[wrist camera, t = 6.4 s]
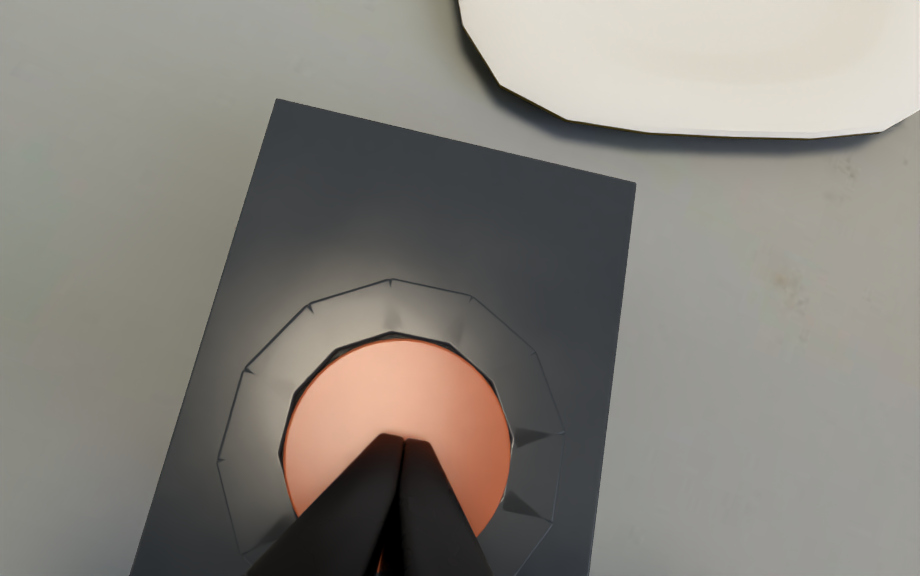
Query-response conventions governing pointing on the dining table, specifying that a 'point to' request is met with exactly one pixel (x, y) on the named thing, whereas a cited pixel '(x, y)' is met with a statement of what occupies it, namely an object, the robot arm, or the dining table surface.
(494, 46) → the plate
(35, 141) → the dining table surface
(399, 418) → the button
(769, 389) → the dining table surface
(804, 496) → the dining table surface
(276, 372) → the control block
